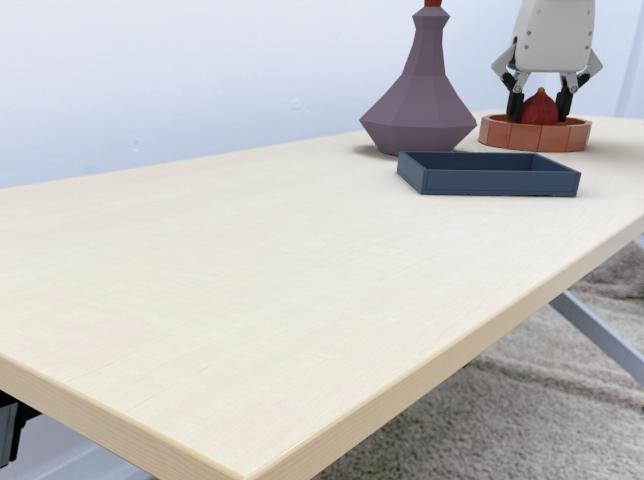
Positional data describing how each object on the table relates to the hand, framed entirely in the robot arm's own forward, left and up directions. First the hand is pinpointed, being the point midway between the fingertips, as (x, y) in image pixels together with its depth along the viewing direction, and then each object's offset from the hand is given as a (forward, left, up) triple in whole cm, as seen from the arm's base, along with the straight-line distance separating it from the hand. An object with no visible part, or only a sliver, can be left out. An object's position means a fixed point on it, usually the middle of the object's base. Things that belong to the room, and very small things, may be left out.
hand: (536, 119), depth 104 cm
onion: (0, 0, -4) cm, 4 cm away
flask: (+19, +9, -4) cm, 22 cm away
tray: (+17, +30, -3) cm, 35 cm away
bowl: (0, 0, -3) cm, 3 cm away
